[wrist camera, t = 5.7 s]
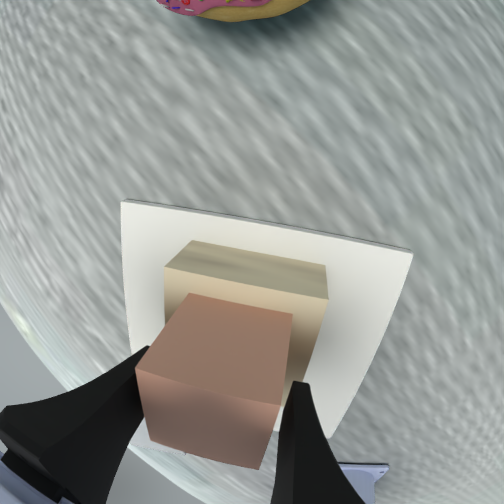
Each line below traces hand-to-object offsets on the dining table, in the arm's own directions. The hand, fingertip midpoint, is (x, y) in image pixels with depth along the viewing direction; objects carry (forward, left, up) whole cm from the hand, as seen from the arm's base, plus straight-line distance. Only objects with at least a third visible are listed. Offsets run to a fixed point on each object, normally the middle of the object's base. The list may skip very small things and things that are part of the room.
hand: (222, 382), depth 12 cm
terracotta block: (0, 0, -2) cm, 2 cm away
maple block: (0, 0, -6) cm, 6 cm away
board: (-3, 0, -6) cm, 7 cm away
